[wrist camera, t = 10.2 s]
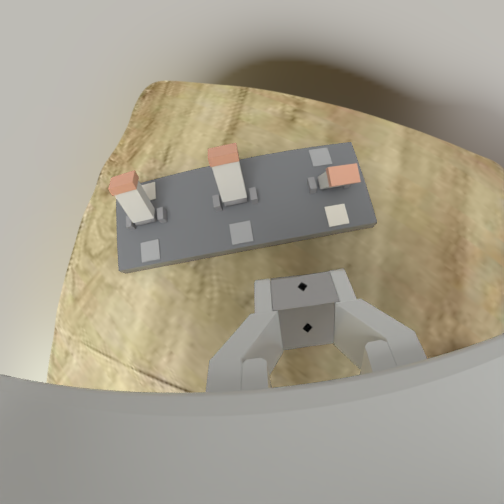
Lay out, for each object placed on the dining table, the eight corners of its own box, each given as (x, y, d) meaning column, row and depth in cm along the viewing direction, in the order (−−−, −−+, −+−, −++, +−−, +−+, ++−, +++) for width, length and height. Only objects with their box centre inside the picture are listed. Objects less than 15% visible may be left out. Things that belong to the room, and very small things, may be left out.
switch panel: (372, 227, 38) (380, 218, 35) (125, 273, 40) (113, 268, 37) (348, 149, 41) (352, 136, 38) (122, 195, 43) (111, 186, 40)
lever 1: (157, 225, 38) (132, 181, 32) (136, 230, 39) (108, 189, 32) (159, 213, 39) (134, 170, 33) (137, 218, 40) (111, 177, 33)
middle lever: (249, 205, 38) (237, 152, 31) (224, 210, 38) (207, 158, 32) (247, 195, 39) (236, 142, 33) (223, 199, 39) (207, 148, 33)
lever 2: (341, 188, 38) (360, 182, 30) (317, 191, 38) (331, 186, 30) (338, 173, 38) (356, 163, 30) (314, 176, 38) (328, 167, 30)
